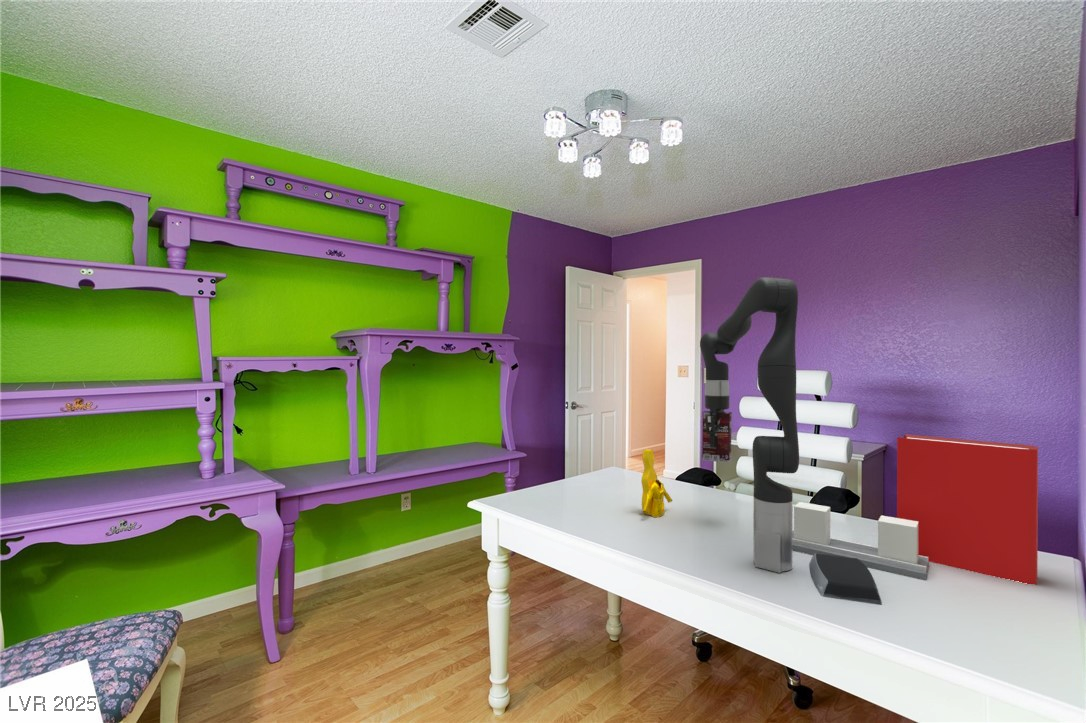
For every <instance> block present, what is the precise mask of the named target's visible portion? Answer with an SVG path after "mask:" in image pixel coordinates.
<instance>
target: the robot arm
mask: <svg viewBox="0 0 1086 723" xmlns="http://www.w3.org/2000/svg"><path fill="white" fill-rule="evenodd" d="M798 306H799V292H798V287H797V284H796V283H795V281H793V280H792V279H787V278H779V277H768V276H766V277H765V276H763V277H759V278H757V279H756V280H755V281H754V282H753V283H752V284H751V285H750V286H749V289H747V291H746V293H745V294H744V296H743V297H742V299H741V300H740V301H739V303H738V305H737V307H736V308H735V309H734V311H733V312H732V313H731V314H730V316H728V318H726V319H725V320H724V321H723V322H722V323H721V324H720V326H718V328H717V331H716V332H705V333H704V334H703V335H702V336H701V337H700V340H699V347H700V351H701V355H702V358H703V362H704V365H705V384H704V408H705V409H707V410H709V411H710V414H709V416H706V417H705V420H706V432H707V434H709V436H710V447H711V448H717V435H718V430H719V429H720V420H721V419H719V420H718V413H719V412H725V410H729V409H730V384H729V373H730V372H729V364H728V363H727V362H725V361H721V360H718V358H717V357H716V355H728V354H730V353H733V351H734V349H735V347H736V345H737V343H738V342H739V340H740V339H741V338H743V337H744V336H745V335H746V334H747V333H748V332H749V331H750V329H751V326H752V316H753V315H754V314H755V313H757V312H763V313H772V314H775V327H774V331H773V333H772V336H771V337H770V339H769V341H768V343H767V344H766V345H765V347H764V349H763V350H762V352H761V354H760V355H759V358H758V361H757V385H758V389H759V390H760V393H761V394H762V396H763V397H764V399H765V400H766V401H767V403H768V404H769V406H770V407H771V408H772V409H773V411H774V413H775V415H776V417H777V418H778V420H779V423H780V425H781V428H782V431H783V436H777V435H776V436H775V435H774V436H773V435H771V436H770V435H758V436H755V437H754V439H753V442H752V465H753V517H752V518H753V520H752V521H753V533H752V534H753V536H752V537H753V539H752V540H753V543H752V544H753V555H752V557H753V560H752V561H753V564H754V567H755V568H760V569H762V570H768V571H770V572H775V573H780V574H781V573H782V572H788V571H791V570H792V569H793V550H792V531H793V513H794V506H793V504H794V502H793V501H794V500H793V490H792V489H791V487H789V486H787V485H785V484H782V483H779V482H778V481H775V480H774V479H772V478H771V477H769V476H768V474H767V473H779V474H795V473H796V472H798V470H799V465H800V446H799V445H800V444H799V435H798V422H797V361H796V360H797V358H796V356H797V355H796V331H797V330H796V329H797V320H798V319H797V317H798ZM717 423H718V424H717ZM715 424H717V426H715Z"/></svg>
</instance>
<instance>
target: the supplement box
mask: <svg viewBox="0 0 1086 723" xmlns="http://www.w3.org/2000/svg"><path fill="white" fill-rule="evenodd" d="M709 414H710V410H704V411H702V430H701V431H702V432H701V433H702V446H701V448H702V450H701V451H702V452H701V453H702V454H701V455H702V457H701V459H702V461H703V462H705V461H707V462H719V463H728V464H729V463H730V462H731V460H732V422H733V421H732V420H733V419H732V414H733V413H732V411H724V412H719V413H718V420H719V419H721V420H720V429H719V430H718V435H717V448H711V447H710V436H709V434H707V432H706V420H705V417H706V416H709ZM717 424H718V423H717ZM717 424H715V426H717Z"/></svg>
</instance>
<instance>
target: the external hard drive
mask: <svg viewBox="0 0 1086 723" xmlns="http://www.w3.org/2000/svg"><path fill="white" fill-rule="evenodd" d="M808 567H809V573H810V577H811V580H812V582H813V585H815V588H816V589H817V592H818V593H819V594H820V596H822V597H824V598H831V599H832V598H833V599H838V600H845V601H852V602H859V603H867V604H874V605H883V604H882V598H881V595H880V593H879V590H878V587H877V584H876V582H875V578H874V577H873V575H872V573H871V571H870V570H869V567H866V566H865V565H864V564H863V563H862V562H861V561H860V560H859V559H857V558H849V557H841V556H832V555H825V554H817V553H815V554H814V555H812V556H811V559H810V561H809V564H808Z"/></svg>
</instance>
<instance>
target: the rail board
mask: <svg viewBox="0 0 1086 723" xmlns="http://www.w3.org/2000/svg"><path fill="white" fill-rule="evenodd" d="M877 525H878V526H877V546H875V545H869V544H866V543H865V544H864V543H859V542H855V541H850V540H845V539H840V538H837V537H835V538H834V537H831V506H827V505H819V504H815V503H810V502H807V503H806V502H802V501H799V502H797V503H796V504H795V505H794V506H793V526H794V527H793V529H792V551H793V550H795V551H794V552H798V551H799V552H798V553H802V552H804V553H803V554H807V553H808V554H807V555H811V554H813V555H814V554H815V553H817V554H825V555H832V556H841V557H849V558H857V559H859V560H860V561H861V562H862V563H863V564H864V565H865V566H866V567H867V568H868V569H869V568H870V569H874V570H879V571H883V572H888V573H893V574H897V575H902V576H904V577H910V578H915V579H920V580H924V581H926V580H927V577H928V576H927V575H928V569H929V563H930V562H929V559H928V557H925V556H920V555H918V521H912V520H906V519H900V518H897V517H893V516H886V515H880V517H879V518H878V520H877ZM813 555H812V556H813Z"/></svg>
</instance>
